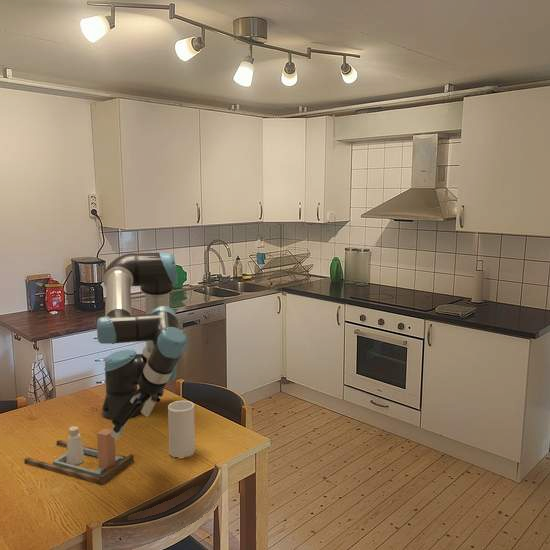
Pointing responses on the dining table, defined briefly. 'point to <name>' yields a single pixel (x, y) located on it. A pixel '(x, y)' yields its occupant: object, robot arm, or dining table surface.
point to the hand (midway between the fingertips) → (129, 425)
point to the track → (100, 480)
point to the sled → (104, 455)
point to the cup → (181, 428)
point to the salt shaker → (74, 447)
